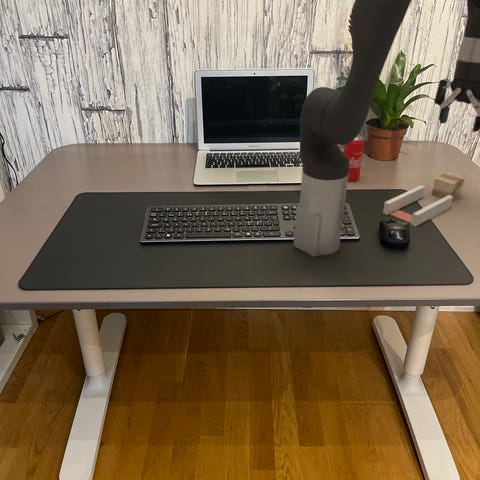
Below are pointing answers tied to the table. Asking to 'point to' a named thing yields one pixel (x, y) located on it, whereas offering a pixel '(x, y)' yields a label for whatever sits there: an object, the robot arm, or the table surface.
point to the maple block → (447, 185)
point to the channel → (419, 215)
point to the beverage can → (354, 157)
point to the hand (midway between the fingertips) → (459, 126)
